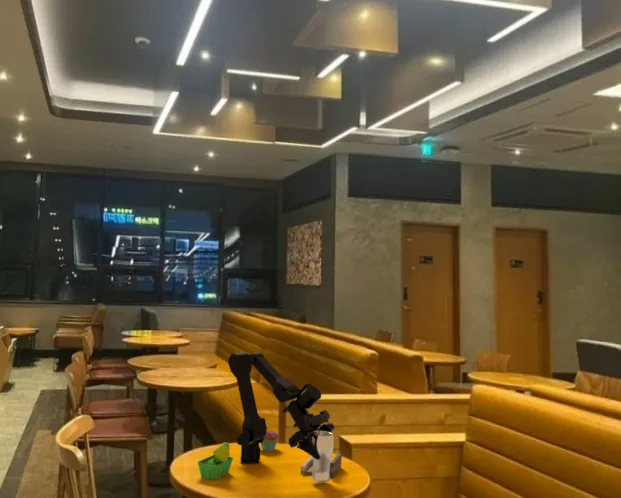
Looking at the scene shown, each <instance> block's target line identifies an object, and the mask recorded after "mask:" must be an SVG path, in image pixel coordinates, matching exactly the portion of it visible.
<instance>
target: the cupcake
mask: <svg viewBox="0 0 621 498" xmlns="http://www.w3.org/2000/svg"><path fill="white" fill-rule="evenodd" d="M270 423H271V422H270V420H268V421H267V429H266V430H267V434H266V436H265V437H264V440H263V443H260V445H261V446H260V447H261V450H262V451H265V452H272V451H274V450H276V446H277V443H278V442H280V435H279V434H278V433H277V432H276V431H273V430H270V427H271V425H270Z"/></svg>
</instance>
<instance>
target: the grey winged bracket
mask: <svg viewBox="0 0 621 498" xmlns="http://www.w3.org/2000/svg"><path fill="white" fill-rule="evenodd" d="M342 455H343V453H341V452H340V453H339V452H338V453H337V454H336V455H335V457H333V459H331V462H330V467H329V475H330V479H334V478H335V477H336V475H337V474H338V472H339V471H340V470H341V468H342ZM312 473H313V457H312V456H309V458H308V459H307V460H306V461H305V462H304V463H303V464H302V465H301V466H300V474H301V475H307V476H312Z"/></svg>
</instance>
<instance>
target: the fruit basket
mask: <svg viewBox="0 0 621 498" xmlns="http://www.w3.org/2000/svg"><path fill="white" fill-rule="evenodd" d="M212 452H213V453H212V454H213V455H211V456H209V457H205V458H203V459H201V460H198V461H197V462H196V463H197V465H198V469H199V473H200V477H201V478H205V479H209V480H216V479H218V478H220V477H223V476H225V475H226V474H228V473H229V472H230V468H231V466H232V462H233V460H234V457H231V456H230V455H231V454H230V444H229V443H228V442H225V441H224V442H223V443H221V444H220V445H219V446H217V447H215V448H214V449H213V451H212Z"/></svg>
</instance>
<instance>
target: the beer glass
mask: <svg viewBox="0 0 621 498" xmlns="http://www.w3.org/2000/svg"><path fill="white" fill-rule="evenodd" d="M313 434H314V435H313V437H312V442H313V445H314V447H315V448H316V450H317V452H318V454H319V457H320V459H319V460H317V459H315V458H314V457H313V473H312V475H311V480H312V481H315V482H317V483H327V482H329V481H330V480H331V478H330V475H329V467H330V463H331V461H332V458H333V454H334V453H333V452H334V433H333V432H328V431H315V432H314V433H313Z"/></svg>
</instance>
